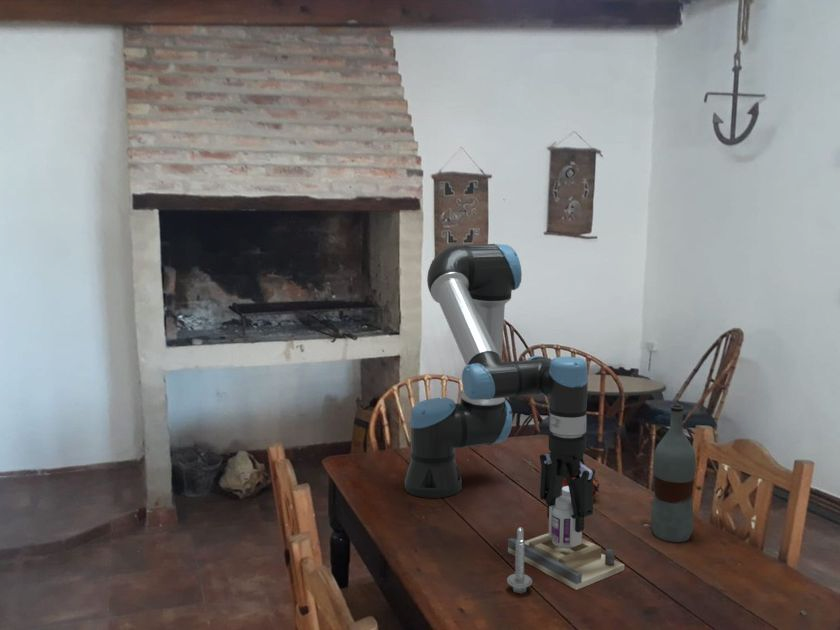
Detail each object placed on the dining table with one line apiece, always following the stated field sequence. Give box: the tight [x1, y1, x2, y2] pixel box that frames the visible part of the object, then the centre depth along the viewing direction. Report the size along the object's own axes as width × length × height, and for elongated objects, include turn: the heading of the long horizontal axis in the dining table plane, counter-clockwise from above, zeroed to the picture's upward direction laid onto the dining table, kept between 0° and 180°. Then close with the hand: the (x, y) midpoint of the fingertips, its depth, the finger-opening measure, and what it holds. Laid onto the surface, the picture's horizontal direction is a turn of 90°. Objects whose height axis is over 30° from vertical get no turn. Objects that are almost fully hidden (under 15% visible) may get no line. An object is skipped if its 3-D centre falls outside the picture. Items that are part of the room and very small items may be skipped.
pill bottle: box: [552, 495, 574, 548], centre depth 158 cm, size 5×5×10 cm
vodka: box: [650, 404, 697, 543], centre depth 170 cm, size 9×9×30 cm
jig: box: [507, 532, 625, 591], centre depth 159 cm, size 20×14×4 cm
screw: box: [506, 526, 533, 594], centre depth 147 cm, size 13×5×5 cm
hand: (564, 539), depth 159 cm, fingers closed on pill bottle, 5 cm apart
